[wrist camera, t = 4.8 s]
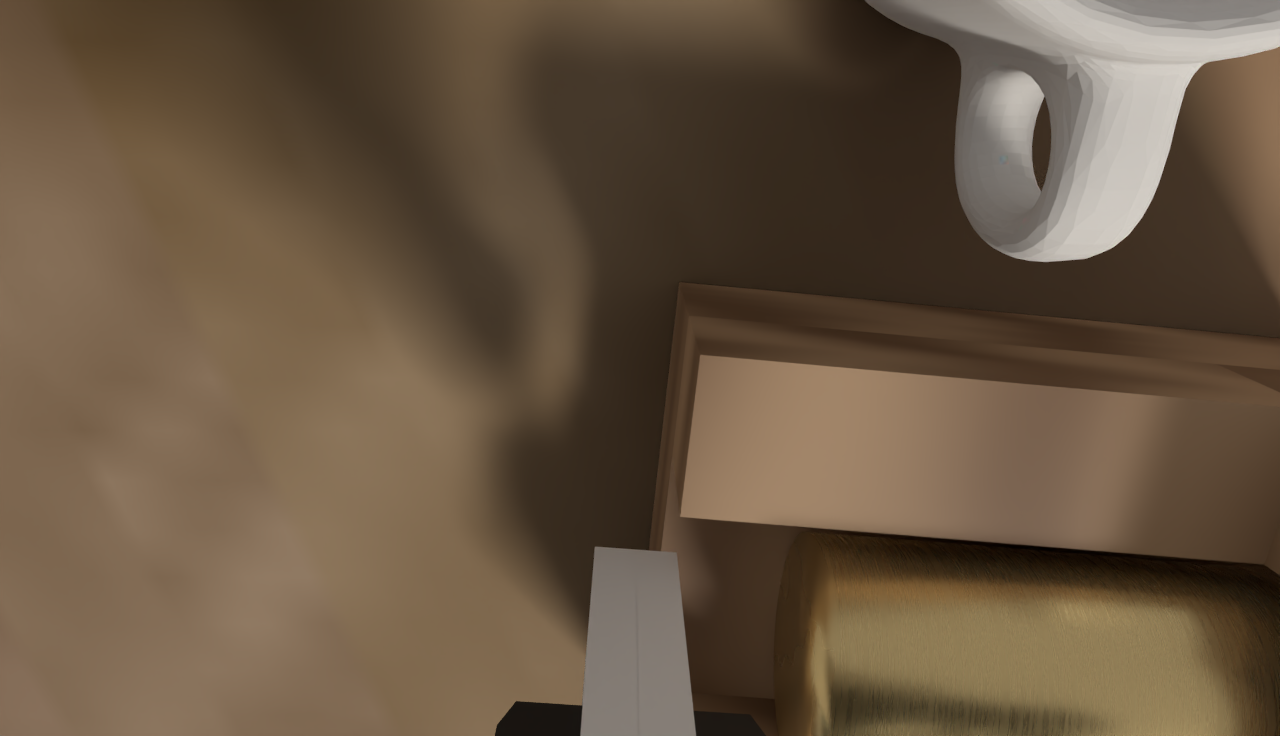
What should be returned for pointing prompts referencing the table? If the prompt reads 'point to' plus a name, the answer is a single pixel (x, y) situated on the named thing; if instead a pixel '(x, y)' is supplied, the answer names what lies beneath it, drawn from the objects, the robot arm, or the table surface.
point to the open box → (942, 449)
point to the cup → (1074, 106)
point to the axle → (1020, 643)
